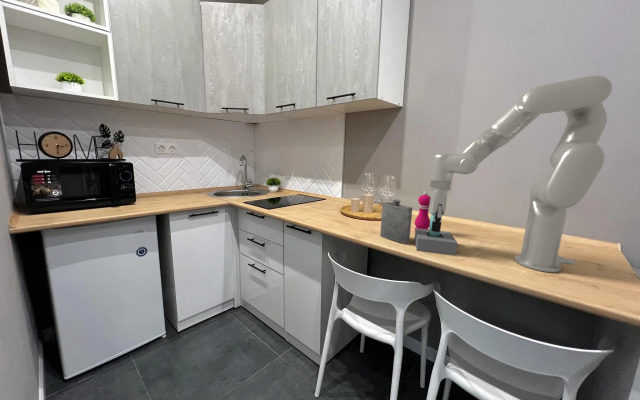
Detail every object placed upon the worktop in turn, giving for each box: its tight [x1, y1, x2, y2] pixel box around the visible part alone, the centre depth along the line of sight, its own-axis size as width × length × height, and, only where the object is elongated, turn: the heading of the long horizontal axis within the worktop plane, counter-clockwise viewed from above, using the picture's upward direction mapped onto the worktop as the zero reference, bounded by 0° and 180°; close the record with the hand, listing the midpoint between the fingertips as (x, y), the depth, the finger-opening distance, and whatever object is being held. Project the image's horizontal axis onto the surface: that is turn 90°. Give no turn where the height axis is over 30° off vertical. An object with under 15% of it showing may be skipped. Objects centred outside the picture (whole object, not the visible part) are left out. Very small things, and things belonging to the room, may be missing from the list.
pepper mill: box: [414, 191, 431, 230], centre depth 121 cm, size 7×7×20 cm
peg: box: [428, 211, 443, 238], centre depth 102 cm, size 4×4×14 cm
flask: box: [379, 199, 413, 246], centre depth 109 cm, size 4×14×18 cm, turn 39°
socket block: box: [413, 227, 458, 256], centre depth 104 cm, size 14×14×5 cm
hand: (434, 229), depth 103 cm, fingers closed on peg, 4 cm apart
